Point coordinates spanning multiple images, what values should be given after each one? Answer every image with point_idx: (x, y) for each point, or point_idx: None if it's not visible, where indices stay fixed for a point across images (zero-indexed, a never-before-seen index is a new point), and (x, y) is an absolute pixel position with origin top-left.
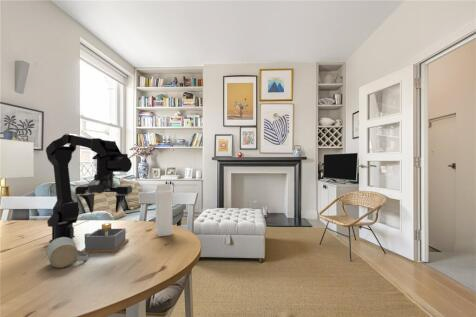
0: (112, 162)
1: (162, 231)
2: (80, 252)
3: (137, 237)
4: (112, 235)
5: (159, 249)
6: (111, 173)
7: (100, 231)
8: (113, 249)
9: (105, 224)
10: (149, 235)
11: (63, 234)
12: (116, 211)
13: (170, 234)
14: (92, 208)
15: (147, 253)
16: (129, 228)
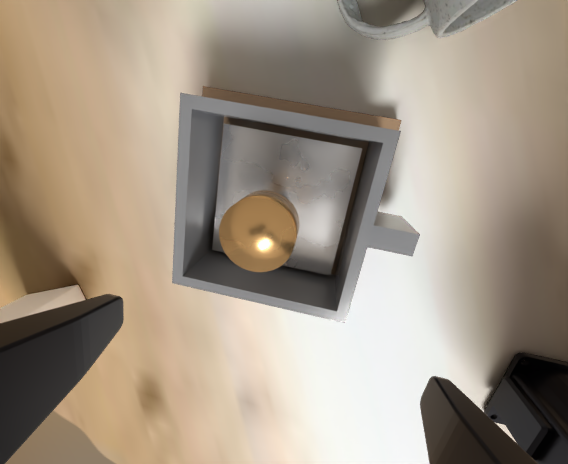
0: None
1: (41, 299)
2: (390, 28)
3: (172, 306)
4: (261, 272)
5: (12, 81)
6: None
7: (331, 302)
8: (221, 93)
9: (264, 233)
10: (125, 318)
11: (561, 396)
12: (101, 296)
13: (30, 294)
14: (444, 446)
15: (49, 28)
16: (245, 450)
